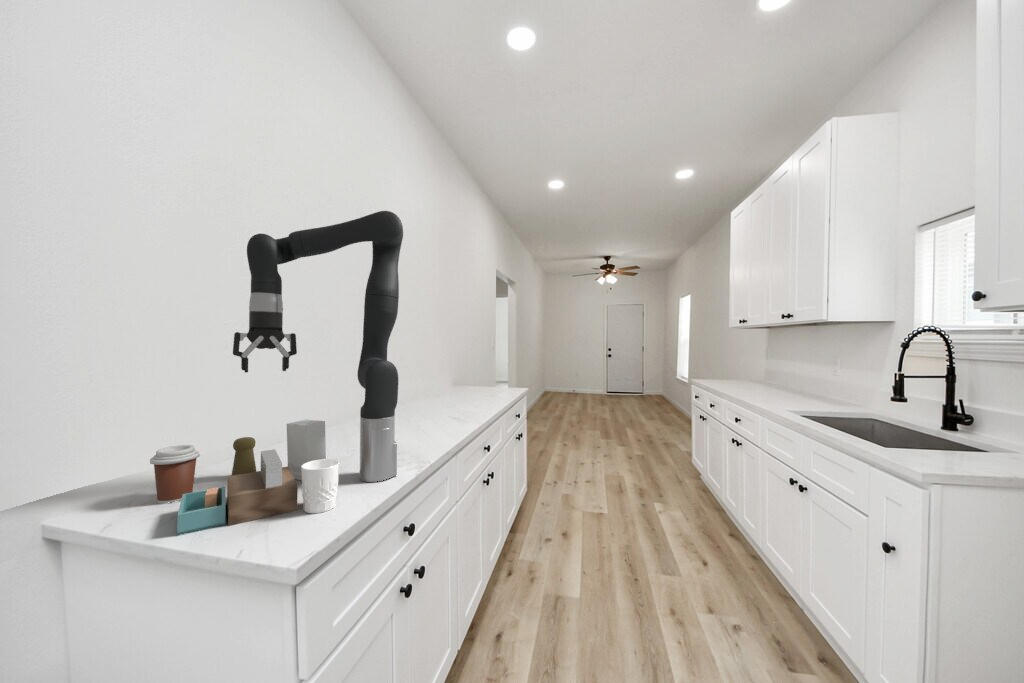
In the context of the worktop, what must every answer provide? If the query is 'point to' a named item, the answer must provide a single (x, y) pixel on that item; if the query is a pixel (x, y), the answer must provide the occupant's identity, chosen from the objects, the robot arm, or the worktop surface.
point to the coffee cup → (174, 472)
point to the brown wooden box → (259, 497)
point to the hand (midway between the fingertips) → (265, 371)
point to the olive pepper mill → (244, 456)
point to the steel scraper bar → (271, 469)
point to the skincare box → (305, 444)
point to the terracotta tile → (212, 497)
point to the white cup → (320, 485)
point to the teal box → (200, 512)
